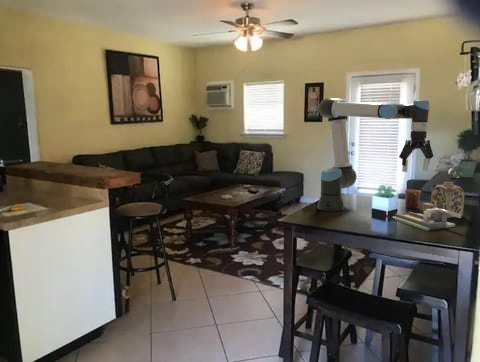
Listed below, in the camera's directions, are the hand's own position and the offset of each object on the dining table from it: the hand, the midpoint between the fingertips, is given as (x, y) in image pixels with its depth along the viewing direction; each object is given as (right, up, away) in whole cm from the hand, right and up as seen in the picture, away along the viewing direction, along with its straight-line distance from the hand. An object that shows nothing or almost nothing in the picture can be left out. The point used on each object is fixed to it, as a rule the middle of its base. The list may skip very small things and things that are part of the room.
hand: (415, 171), depth 203 cm
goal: (+1, -28, -16) cm, 32 cm away
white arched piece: (+4, -26, -13) cm, 29 cm away
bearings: (+7, -27, -11) cm, 29 cm away
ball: (+1, -26, -16) cm, 30 cm away
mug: (+9, -21, +22) cm, 32 cm away
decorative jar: (+20, -24, +7) cm, 32 cm away
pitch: (0, -26, -8) cm, 27 cm away
